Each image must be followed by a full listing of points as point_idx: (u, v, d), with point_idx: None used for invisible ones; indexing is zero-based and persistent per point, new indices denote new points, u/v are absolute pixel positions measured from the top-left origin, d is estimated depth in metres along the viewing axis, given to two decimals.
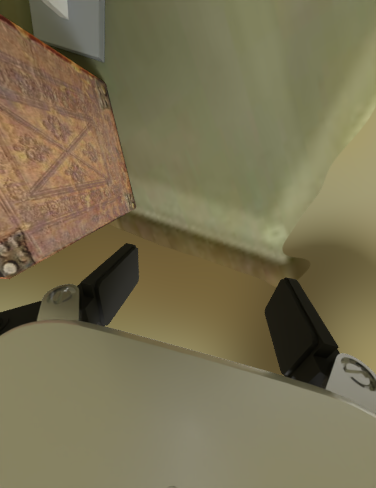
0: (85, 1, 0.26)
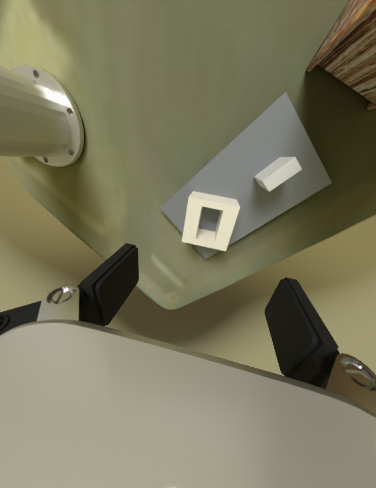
0: (249, 150, 0.22)
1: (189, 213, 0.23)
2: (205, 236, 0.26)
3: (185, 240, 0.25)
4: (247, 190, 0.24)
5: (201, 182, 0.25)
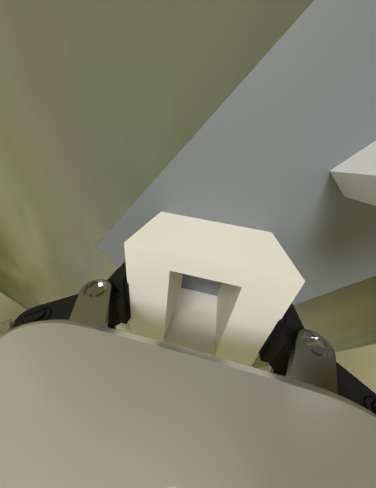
0: (326, 81, 0.06)
1: (135, 287, 0.08)
2: (193, 321, 0.11)
3: None
4: (304, 210, 0.09)
5: (178, 191, 0.10)
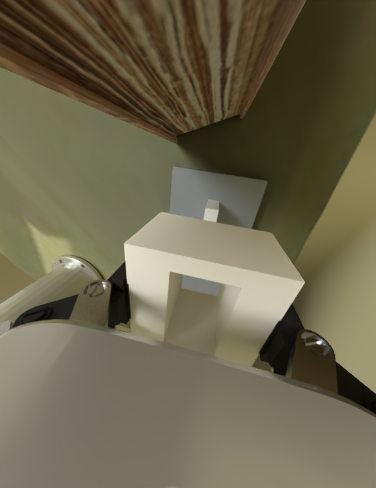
0: (184, 212, 0.25)
1: (136, 287, 0.08)
2: (193, 321, 0.11)
3: None
4: None
5: None
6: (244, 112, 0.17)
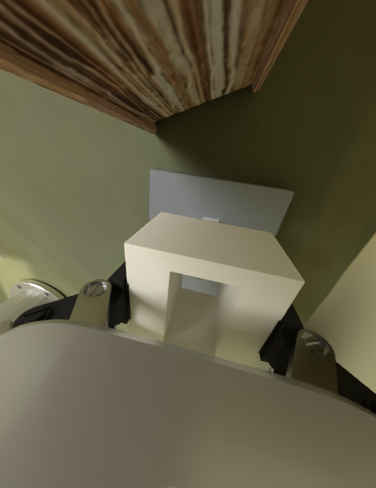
0: None
1: (136, 287, 0.08)
2: (193, 321, 0.11)
3: None
4: None
5: None
6: (263, 75, 0.10)
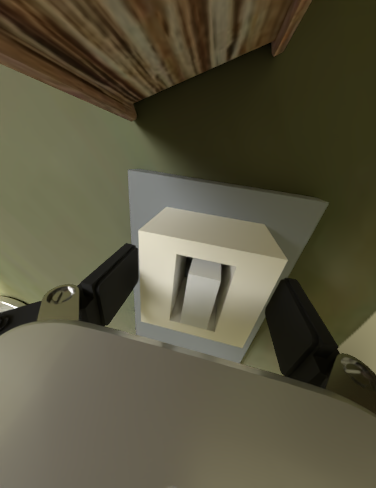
0: None
1: (147, 269, 0.09)
2: None
3: (148, 320, 0.11)
4: None
5: None
6: (299, 11, 0.06)
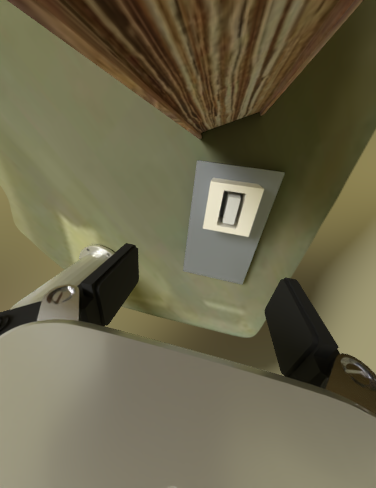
0: (205, 202, 0.28)
1: (210, 199, 0.23)
2: None
3: (206, 227, 0.25)
4: None
5: (194, 240, 0.31)
6: (266, 110, 0.19)
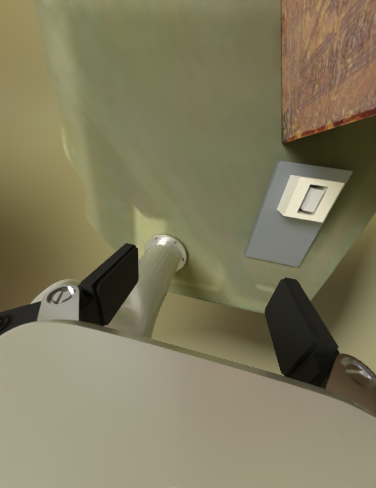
0: (279, 195, 0.33)
1: (297, 191, 0.28)
2: (300, 211, 0.31)
3: (287, 214, 0.30)
4: None
5: (262, 228, 0.37)
6: (350, 122, 0.25)
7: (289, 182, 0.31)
